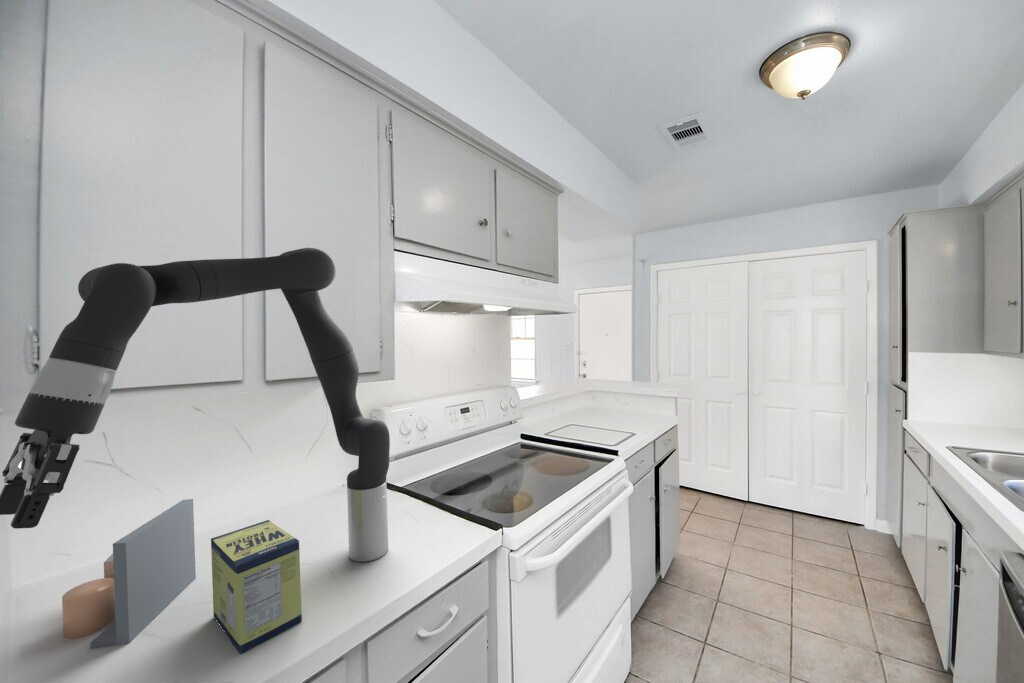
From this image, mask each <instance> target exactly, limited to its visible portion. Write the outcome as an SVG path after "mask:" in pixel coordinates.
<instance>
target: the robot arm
mask: <svg viewBox="0 0 1024 683" xmlns="http://www.w3.org/2000/svg"><path fill="white" fill-rule="evenodd" d="M336 272H337V270H336V264H335V262H334V260H333V258H332V257H331V256H330V255H329V254H328V253H327V252H325V251H324V250H322V249H319V248H315V247H303V248H297V249H293V250H288V251H285V252H282V253H281V254H279V255H274V256H264V257H251V258H250V257H245V258H243V257H242V258H218V259H215V258H214V259H212V258H211V259H194V260H193V259H192V260H179V261H177V260H176V261H172V262H167V263H163V264H155V265H136V264H132V263H126V262H117V263H111V264H107V265H104V266H100V267H96V268H93V269H91V270H89V271H87V272H86V273H84V275H83V276H82V277H81V278H80V280H79V282H78V286H77V290H78V294H79V297H80V298H81V299H82V301H83V302H84V303H83V304H82V306H81V308H80V310H79V312H78V314H77V316H76V317H75V318H74V319H73V320H72V321H70V322H69V323H68V324H67V325H66V326H64V327H63V329H62V331H61V332H60V334H59V335H58V338H57V340H56V342H55V344H54V346H53V348H52V350H51V352H50V355H49V356H48V359H47V360H46V362H45V363H44V364H43V367H42V368H41V369H40V370H39V372H38V373H37V375H36V377H35V380H34V382H33V384H32V385H31V388H30V389H29V392H28V394H27V396H26V398H25V400H24V403H23V405H22V407H21V408H20V410H19V412H18V414H17V417H16V419H15V421H14V425H15V426H16V427H18V428H22V429H27V430H33V431H32V432H31V433H30V432H23V433H22V434H21V435H20V436H19V440H18V441H17V444H16V446H15V448H14V449H13V452H12V454H11V455H10V457H9V460H8V462H7V464H6V466H5V467H4V469H3V470H2V473H1V474H2V477H4V478H3V484H4V486H3V488H2V490H1V492H0V516H7V515H8V516H10V515H14V516H13V518H12V521H11V522H10V526H11V528H13V529H32V528H35V527H37V526H38V525H39V523H40V520H41V519H42V516H43V514H44V511H45V510H46V507H47V505H48V502H49V500H50V498H51V497H53V496H55V494H60V493H61V492H62V491H63V489H64V488H65V484H66V482H67V479H68V476H69V474H70V472H71V469H72V467H73V465H74V461H75V460H76V457H77V455H78V452H79V451H80V444H76V443H75V444H74V443H71V440H72V436H73V435H75V434H76V435H89V434H91V433H93V432H94V430H95V428H96V426H97V424H98V421H99V419H100V417H101V414H102V412H103V409H104V407H105V404H106V402H107V400H108V398H109V395H110V393H111V390H112V387H113V386H114V385H113V384H114V381H115V377H116V373H117V370H118V369H119V366H120V363H121V361H122V359H123V356H124V354H125V352H126V349H127V346H128V343H129V341H130V340H131V338H132V337H133V335H134V334H135V333H136V332H137V330H138V329H139V327H140V325H142V323H143V321H144V320H145V318H146V317H147V315H148V313H149V312H150V310H151V308H152V307H158V306H162V305H163V306H164V305H170V304H189V303H199V302H206V301H213V300H221V299H227V298H232V297H237V296H243V295H248V294H252V293H258V292H264V291H271V290H281V292H282V294H283V296H284V297H285V300H286V302H287V303H288V306H289V308H290V310H291V312H292V314H293V316H294V318H295V320H296V323H297V325H298V328H299V331H300V333H301V336H302V339H303V341H304V344H305V346H306V348H307V351H308V354H309V356H310V357H309V358H310V360H311V363H312V365H313V368H314V371H315V374H316V376H317V378H318V380H319V382H320V385H321V388H322V390H323V394H324V396H325V399H326V402H327V404H328V408H329V409H330V410H329V412H330V414H331V418H332V422H333V425H334V429H335V430H334V431H335V434H336V438H337V441H338V443H339V446H340V448H341V450H342V451H344V452H345V453H346V454H348V455H350V456H356V457H358V465H357V466H358V467H357V468H356V469H353V470H351V471H350V472H349V473H348V474H347V477H346V497H347V500H346V501H347V524H348V525H347V529H348V556H349V559H350V560H352V561H353V562H358V563H363V562H371V561H375V560H377V559H379V558H382V557H383V556H384V555H385V554H387V553H388V551H389V529H388V528H389V527H388V525H389V523H388V522H389V521H388V497H387V496H388V492H387V489H388V486H387V475H388V472H389V469H390V468H389V467H390V445H391V443H390V442H391V441H390V440H391V438H390V437H391V436H390V431H389V427H388V426H387V424H386V422H384V421H383V420H380V419H379V420H378V419H373V418H365V417H364V416H363V413H362V412H361V410H360V406H359V404H358V400H357V386H358V382H359V375H360V374H359V372H360V369H359V368H360V367H359V363H358V359H357V357H356V353H355V349H354V347H353V344H352V342H351V341H350V339H349V337H348V336H347V334H346V332H344V330H343V329H342V328H341V327H340V326H339V325H338V324H337V322H336V321H335V320H334V319H333V318H332V316H331V315H330V314H329V313H328V311H327V309H326V308H325V306H324V304H323V301H322V299H321V296H320V293H319V291H322V290H324V289H326V288H328V287H329V286H330V285H331V284H332V283H333V281H334V280H335V278H336ZM44 481H48V482H44Z"/></svg>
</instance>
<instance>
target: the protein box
mask: <svg viewBox="0 0 1024 683" xmlns="http://www.w3.org/2000/svg"><path fill="white" fill-rule="evenodd" d="M210 550H211V551H210V552H211V554H210V555H211V580H212V582H211V584H212V604H213V605H212V606H213V608H212V609H213V618H214V617H215V619H216V620H217V621H216V620H215V619H214V620H215V621H216V623H217V622H218V623H219V624H220V625H219V624H218V623H217V624H218V625H219V627H220V626H221V627H222V628H221V627H220V628H221V630H222V629H223V630H224V631H225V632H224V631H223V630H222V631H223V632H224V634H225V633H226V634H225V635H226V637H227V636H228V637H227V638H228V640H230V642H231V644H232V645H233V646H234V647H235V649H236V651H237V652H238V653H239V654H243V653H245V652H247V651H249V650H251V649H253V648H255V647H256V646H258V645H260V644H262V643H264V642H266V641H268V640H270V639H272V638H273V637H275V636H277V635H279V634H280V633H282V632H285V631H286V630H288V629H291V628H292V627H294V626H295V625H297V624H299V623H302V621H303V616H302V613H303V612H302V592H301V591H302V588H301V585H302V584H301V562H300V561H301V560H300V559H301V558H300V556H301V555H300V540H298V539H297V538H296V537H295V536H293V535H291V534H290V533H288V532H287V531H285V530H284V529H283V528H282V527H281V528H280V526H278V525H276V524H275V523H274V522H272V521H271V520H270V519H267V520H265V521H260V522H257V523H255V524H251V525H248V526H245V527H242V528H239V529H236V530H233V531H231V532H228V533H223V534H220V535H218V536H215V537H211V538H210Z"/></svg>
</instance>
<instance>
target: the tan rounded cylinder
mask: <svg viewBox="0 0 1024 683" xmlns="http://www.w3.org/2000/svg"><path fill="white" fill-rule="evenodd" d="M61 603H62V604H61V605H62V606H61V607H62V626H63V628H62V630H63V638H64V639H68V640H69V639H70V640H72V639H79V638H82V637H88V636H90V635H92V634H95V633H97V632H99V631H101V630H103V629H105V628H108V627H109V626H110V625H111V624H112V623H113V622H115V621H116V617H115V590H114V579H113V578H104V577H103V578H96V579H93V580H90V581H87V582H84V583H81V584H79V585H77V586H75V587H73V588H71V589H69V590H68V591H65V593H64V594H63V595H62V597H61Z"/></svg>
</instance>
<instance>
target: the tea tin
mask: <svg viewBox="0 0 1024 683" xmlns="http://www.w3.org/2000/svg"><path fill="white" fill-rule="evenodd" d="M103 578H113V579H114V563H113V553H111V554H110V555H109V556H108V557H107V559H106V560H105V561H103Z"/></svg>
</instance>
